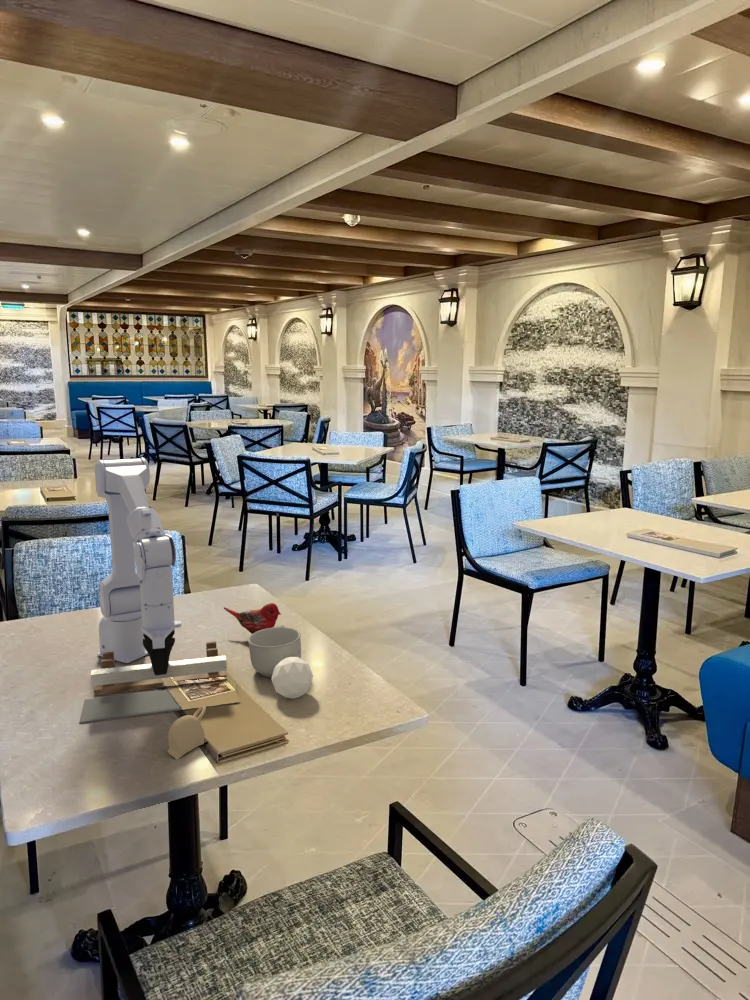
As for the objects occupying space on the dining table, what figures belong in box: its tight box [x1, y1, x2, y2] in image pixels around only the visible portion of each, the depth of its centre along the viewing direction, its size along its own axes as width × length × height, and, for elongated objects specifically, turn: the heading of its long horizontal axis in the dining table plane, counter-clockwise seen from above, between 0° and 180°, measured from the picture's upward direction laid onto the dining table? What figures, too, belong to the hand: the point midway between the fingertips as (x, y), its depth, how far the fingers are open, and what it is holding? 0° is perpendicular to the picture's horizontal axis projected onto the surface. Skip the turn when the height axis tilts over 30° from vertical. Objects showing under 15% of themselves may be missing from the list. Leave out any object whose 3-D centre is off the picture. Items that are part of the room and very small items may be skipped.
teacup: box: [247, 624, 302, 678], centre depth 145 cm, size 14×11×8 cm
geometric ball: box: [271, 657, 314, 699], centre depth 133 cm, size 8×8×8 cm
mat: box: [78, 689, 181, 724], centre depth 130 cm, size 28×9×1 cm, turn 107°
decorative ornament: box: [167, 706, 207, 760], centre depth 115 cm, size 4×8×5 cm, turn 143°
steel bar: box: [90, 655, 228, 687], centre depth 129 cm, size 24×2×2 cm, turn 107°
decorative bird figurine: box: [223, 602, 282, 635], centre depth 161 cm, size 3×18×10 cm, turn 58°
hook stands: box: [93, 640, 227, 696], centre depth 139 cm, size 25×7×6 cm, turn 107°
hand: (160, 671), depth 129 cm, fingers closed on steel bar, 2 cm apart
